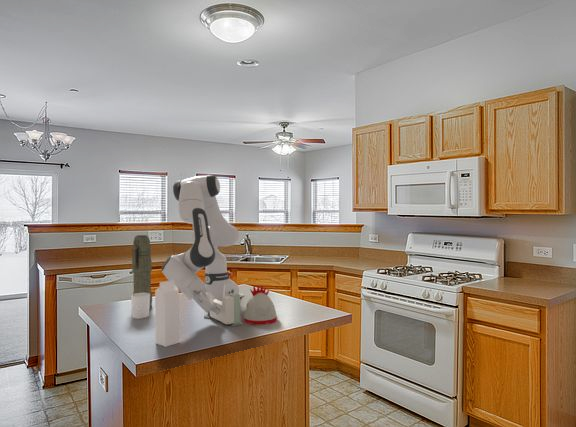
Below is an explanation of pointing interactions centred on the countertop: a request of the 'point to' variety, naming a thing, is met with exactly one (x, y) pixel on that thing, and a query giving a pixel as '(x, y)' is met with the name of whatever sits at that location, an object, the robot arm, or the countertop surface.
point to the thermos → (142, 265)
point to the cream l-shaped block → (224, 310)
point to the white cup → (140, 305)
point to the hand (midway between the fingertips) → (218, 312)
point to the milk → (167, 314)
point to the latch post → (236, 310)
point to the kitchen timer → (260, 308)
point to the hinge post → (208, 316)
